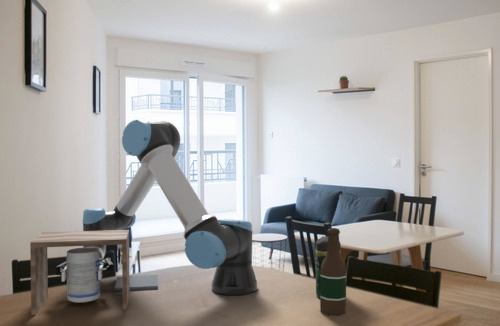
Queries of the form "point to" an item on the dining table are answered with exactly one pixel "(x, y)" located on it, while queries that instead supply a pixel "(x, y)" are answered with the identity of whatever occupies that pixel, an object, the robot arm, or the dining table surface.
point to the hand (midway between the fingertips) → (81, 275)
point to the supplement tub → (83, 274)
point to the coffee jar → (321, 259)
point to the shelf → (72, 239)
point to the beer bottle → (333, 278)
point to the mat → (138, 282)
